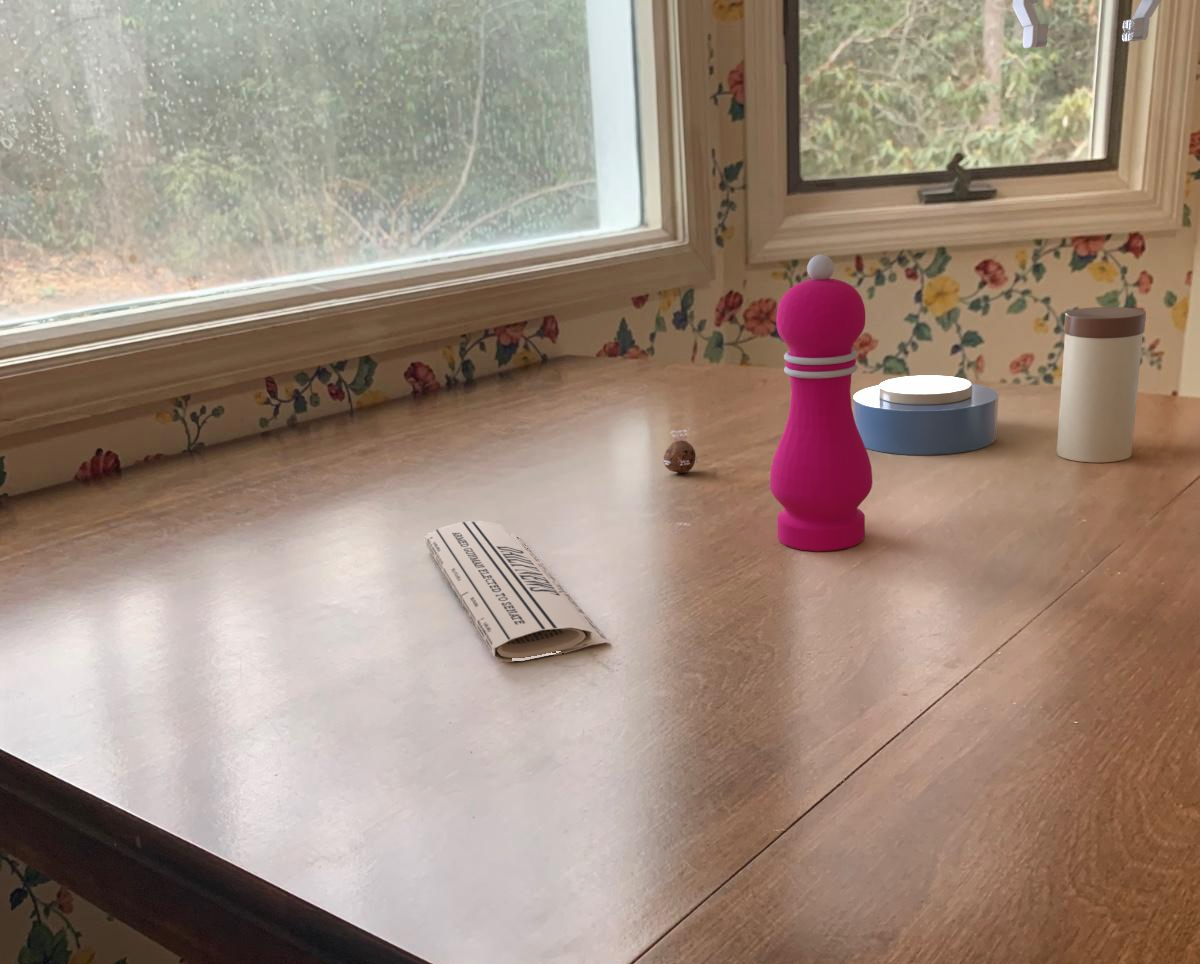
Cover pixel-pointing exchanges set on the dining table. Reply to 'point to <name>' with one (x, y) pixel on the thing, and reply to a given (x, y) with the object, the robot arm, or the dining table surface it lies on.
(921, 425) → the two-tier round pedestal
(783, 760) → the dining table surface
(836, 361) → the pepper mill
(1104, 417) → the canister
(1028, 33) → the robot arm
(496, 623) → the newspaper
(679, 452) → the chocolate
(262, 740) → the dining table surface
